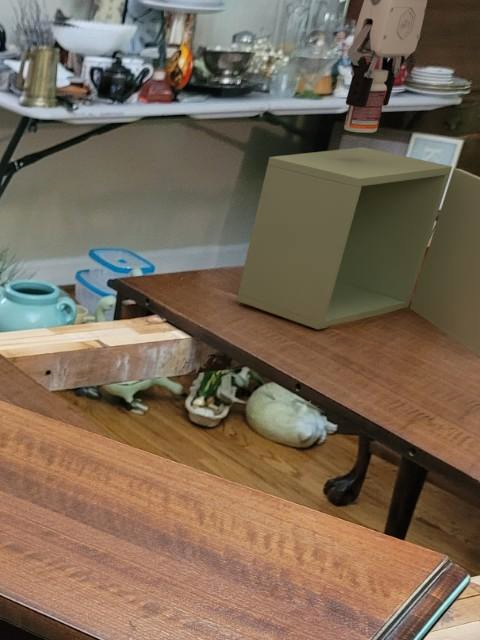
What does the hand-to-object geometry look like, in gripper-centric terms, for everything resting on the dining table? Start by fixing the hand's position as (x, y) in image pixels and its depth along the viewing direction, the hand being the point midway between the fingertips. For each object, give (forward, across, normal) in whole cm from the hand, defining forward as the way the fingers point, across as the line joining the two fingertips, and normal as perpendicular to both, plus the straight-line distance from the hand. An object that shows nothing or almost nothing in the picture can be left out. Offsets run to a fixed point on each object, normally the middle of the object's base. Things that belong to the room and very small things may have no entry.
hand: (366, 103), depth 166 cm
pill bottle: (+4, 0, 0) cm, 4 cm away
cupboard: (+31, +1, -1) cm, 31 cm away
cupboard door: (+30, +9, -22) cm, 39 cm away
